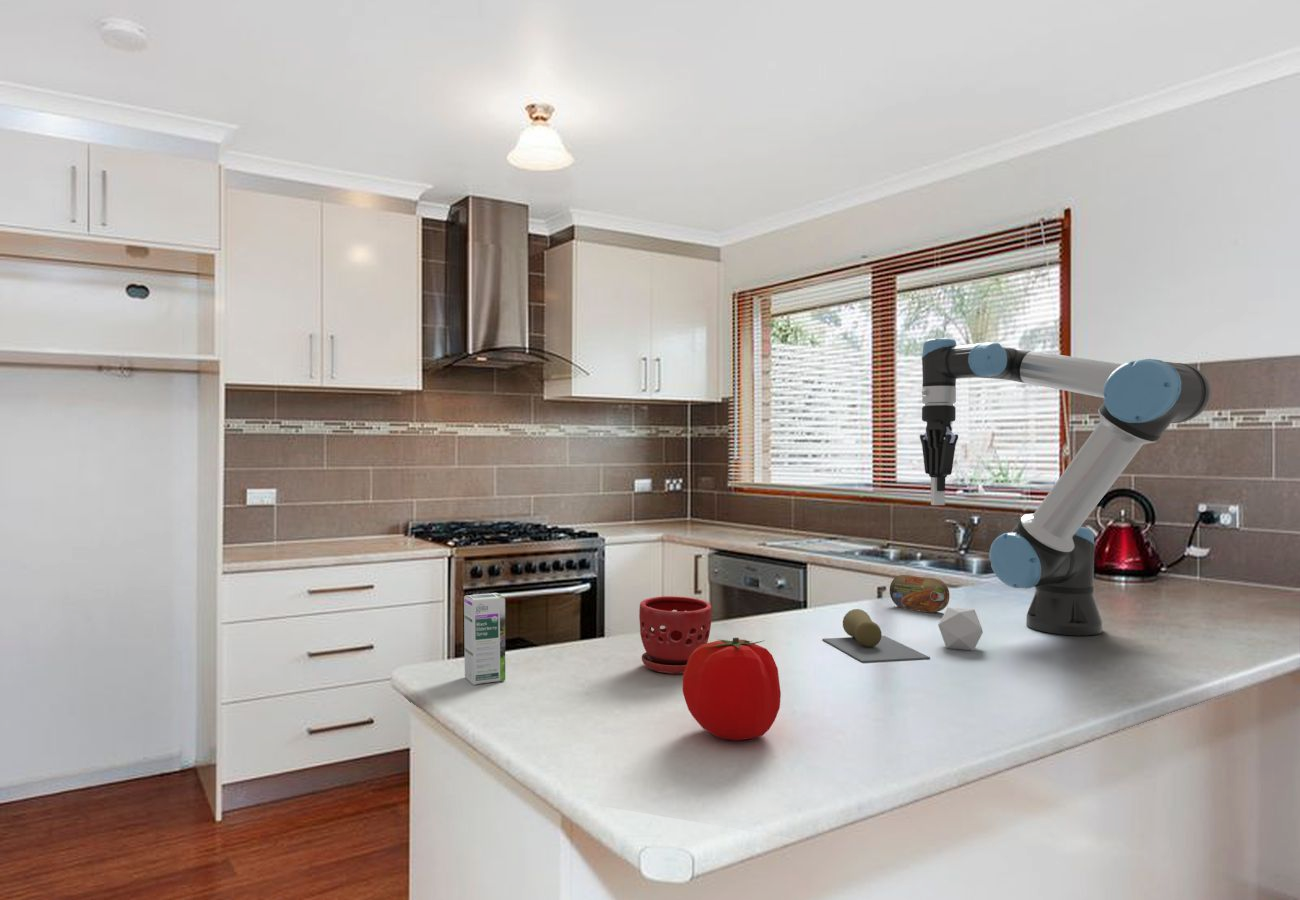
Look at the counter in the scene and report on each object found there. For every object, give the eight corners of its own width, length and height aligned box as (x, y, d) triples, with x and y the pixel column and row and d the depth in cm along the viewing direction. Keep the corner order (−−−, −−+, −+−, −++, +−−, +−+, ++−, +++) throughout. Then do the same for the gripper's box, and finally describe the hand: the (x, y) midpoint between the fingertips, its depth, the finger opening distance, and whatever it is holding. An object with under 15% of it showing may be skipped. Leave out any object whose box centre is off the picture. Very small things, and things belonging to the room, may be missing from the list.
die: (986, 648, 171) (960, 606, 175) (997, 636, 163) (971, 592, 168) (950, 664, 170) (925, 621, 175) (960, 652, 162) (934, 608, 167)
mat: (822, 640, 175) (822, 638, 175) (884, 637, 178) (884, 635, 178) (862, 662, 157) (862, 660, 157) (930, 658, 160) (930, 657, 160)
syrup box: (472, 685, 141) (473, 599, 141) (463, 676, 147) (463, 593, 146) (505, 681, 144) (506, 596, 144) (495, 672, 149) (495, 591, 149)
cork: (874, 634, 177) (888, 647, 166) (846, 640, 177) (858, 654, 166) (867, 606, 177) (882, 617, 166) (839, 612, 177) (852, 624, 166)
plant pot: (628, 673, 149) (628, 606, 149) (653, 656, 161) (653, 593, 161) (699, 681, 145) (699, 611, 144) (719, 662, 157) (719, 598, 157)
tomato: (779, 756, 110) (780, 652, 110) (675, 749, 113) (675, 647, 113) (781, 718, 126) (782, 626, 126) (690, 712, 128) (690, 622, 128)
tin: (888, 606, 211) (889, 572, 211) (895, 604, 214) (895, 571, 214) (944, 615, 200) (945, 580, 200) (951, 613, 203) (951, 578, 202)
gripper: (910, 405, 204) (909, 503, 204) (939, 403, 191) (938, 507, 192) (938, 406, 206) (937, 502, 206) (969, 404, 193) (968, 506, 193)
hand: (937, 504), depth 199 cm, fingers closed
